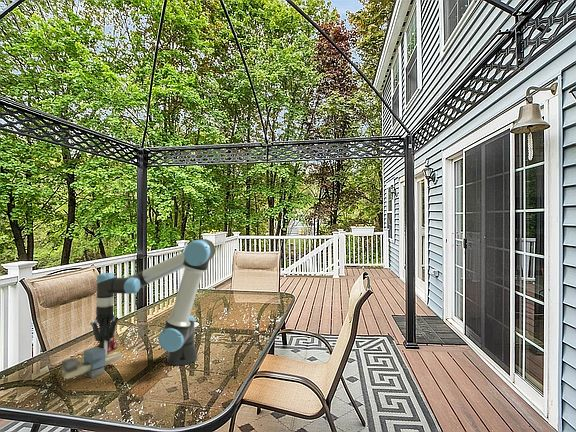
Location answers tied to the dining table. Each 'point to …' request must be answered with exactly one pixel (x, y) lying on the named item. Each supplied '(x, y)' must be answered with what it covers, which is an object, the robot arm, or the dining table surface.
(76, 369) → the beam
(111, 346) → the toy fire truck
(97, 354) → the grey block
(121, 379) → the dining table surface
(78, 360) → the rock
